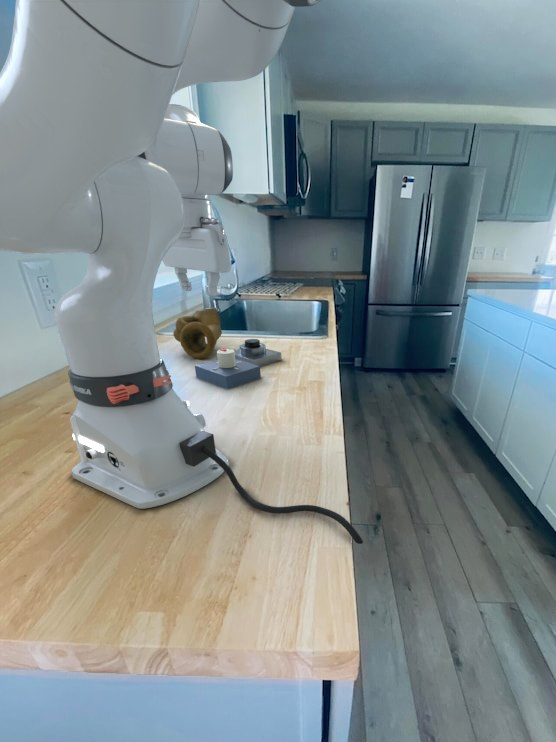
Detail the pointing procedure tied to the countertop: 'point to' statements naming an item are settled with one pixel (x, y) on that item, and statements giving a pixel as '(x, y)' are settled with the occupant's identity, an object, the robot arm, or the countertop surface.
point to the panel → (228, 373)
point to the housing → (257, 355)
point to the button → (252, 343)
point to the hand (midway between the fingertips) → (199, 292)
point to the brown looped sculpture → (198, 332)
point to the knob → (226, 358)
